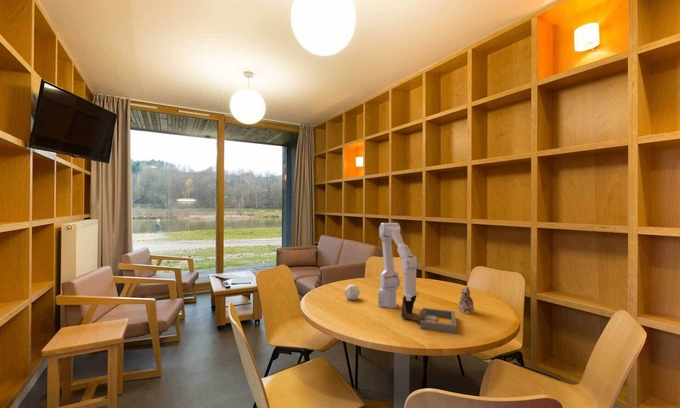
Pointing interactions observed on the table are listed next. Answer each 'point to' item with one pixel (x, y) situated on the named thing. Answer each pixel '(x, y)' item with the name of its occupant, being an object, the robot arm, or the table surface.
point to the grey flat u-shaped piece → (440, 326)
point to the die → (352, 292)
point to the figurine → (466, 302)
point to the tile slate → (430, 317)
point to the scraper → (413, 314)
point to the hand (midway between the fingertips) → (409, 311)
